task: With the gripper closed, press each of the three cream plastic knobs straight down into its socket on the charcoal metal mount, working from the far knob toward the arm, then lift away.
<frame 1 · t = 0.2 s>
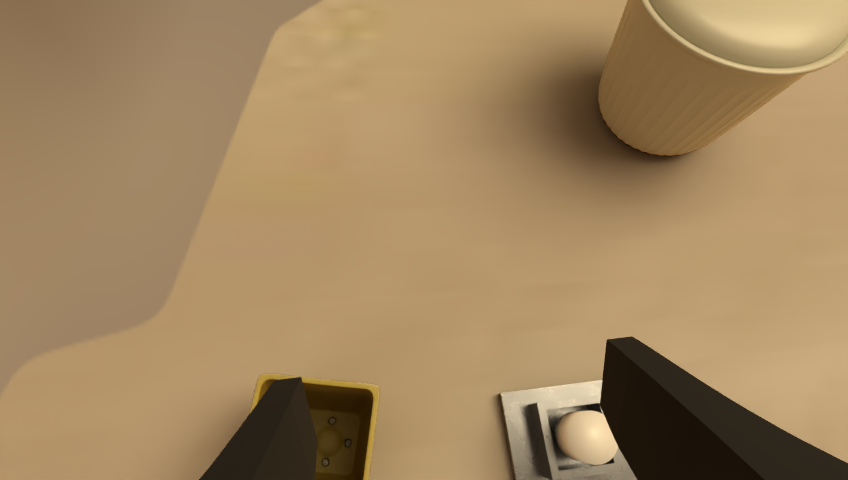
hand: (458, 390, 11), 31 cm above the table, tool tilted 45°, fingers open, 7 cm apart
canister: (649, 115, 52), on the table
flower pot: (331, 440, 39), on the table
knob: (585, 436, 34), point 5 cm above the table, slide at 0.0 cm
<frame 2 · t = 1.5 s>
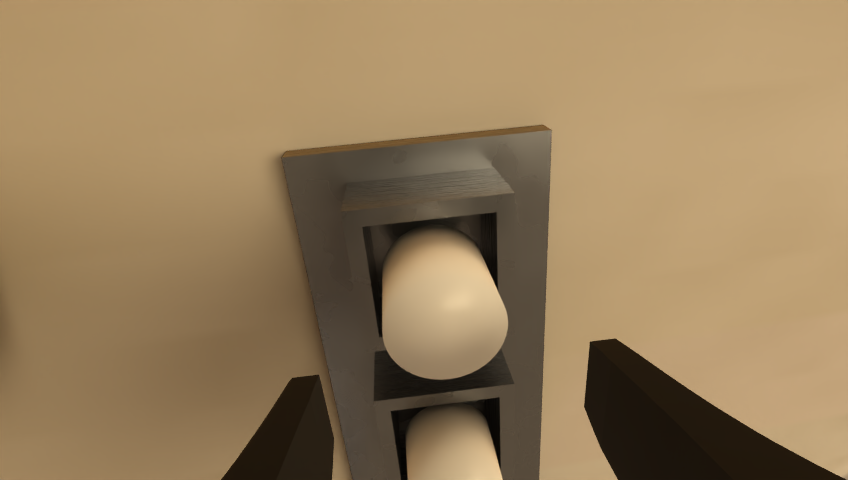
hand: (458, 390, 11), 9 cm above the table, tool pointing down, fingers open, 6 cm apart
knob middle: (452, 469, 18), point 5 cm above the table, slide at 0.0 cm
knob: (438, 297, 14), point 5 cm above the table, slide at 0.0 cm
mount: (438, 377, 23), on the table
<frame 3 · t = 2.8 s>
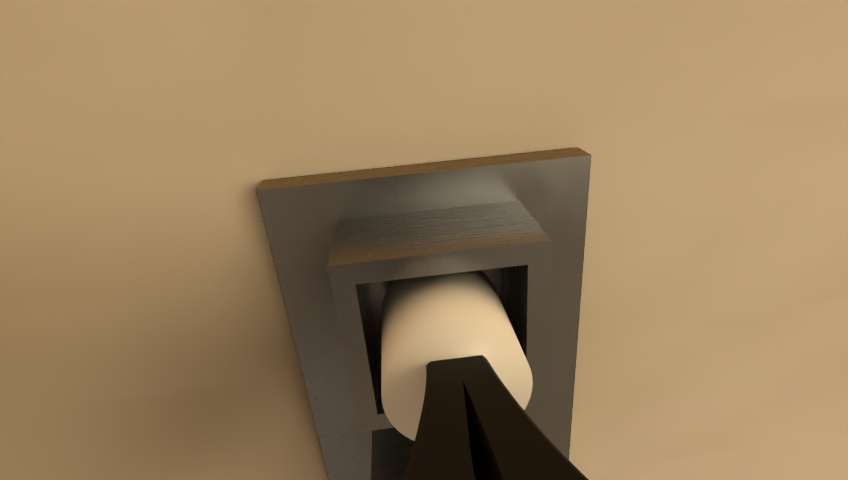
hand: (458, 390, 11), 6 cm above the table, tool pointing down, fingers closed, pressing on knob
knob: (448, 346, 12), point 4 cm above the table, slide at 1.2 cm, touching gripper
mount: (446, 436, 19), on the table
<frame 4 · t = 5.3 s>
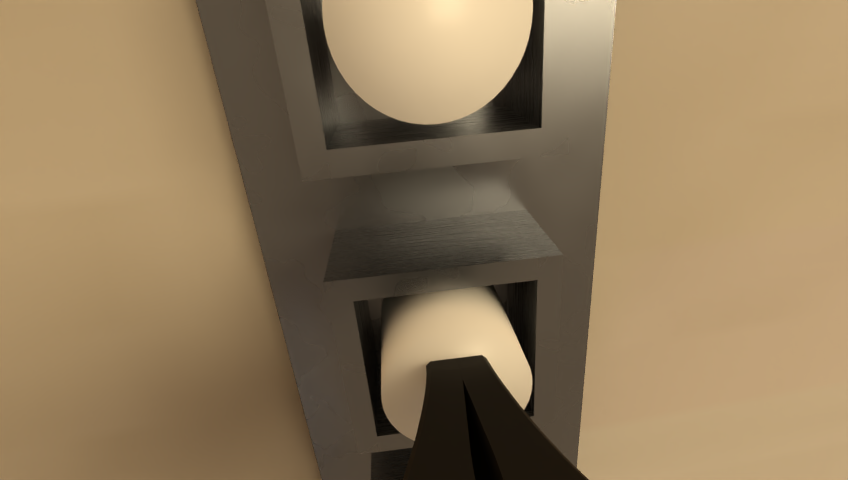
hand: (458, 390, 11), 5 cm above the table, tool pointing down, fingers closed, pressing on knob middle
knob middle: (447, 346, 12), point 3 cm above the table, slide at 2.0 cm, touching gripper
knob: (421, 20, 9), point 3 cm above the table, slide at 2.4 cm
mount: (434, 285, 15), on the table
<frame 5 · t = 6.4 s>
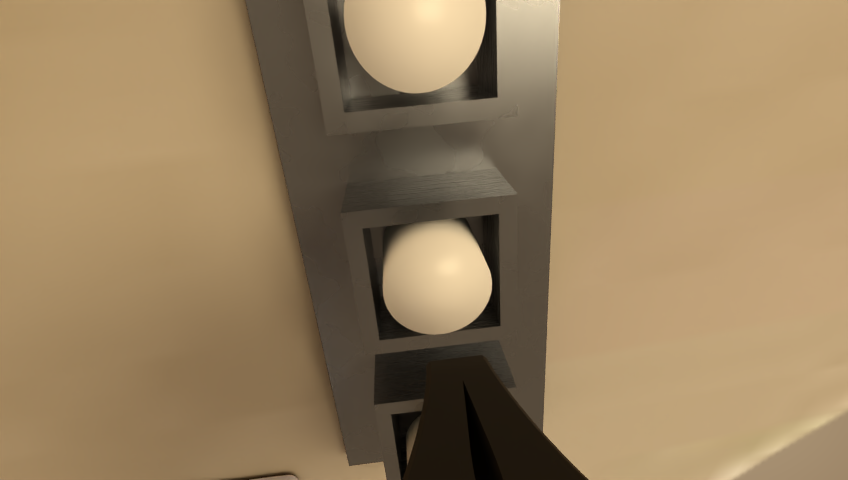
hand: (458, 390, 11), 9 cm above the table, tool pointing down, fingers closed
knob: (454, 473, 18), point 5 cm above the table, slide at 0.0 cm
knob middle: (432, 264, 16), point 3 cm above the table, slide at 2.4 cm
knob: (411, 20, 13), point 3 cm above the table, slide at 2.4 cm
mount: (425, 232, 19), on the table
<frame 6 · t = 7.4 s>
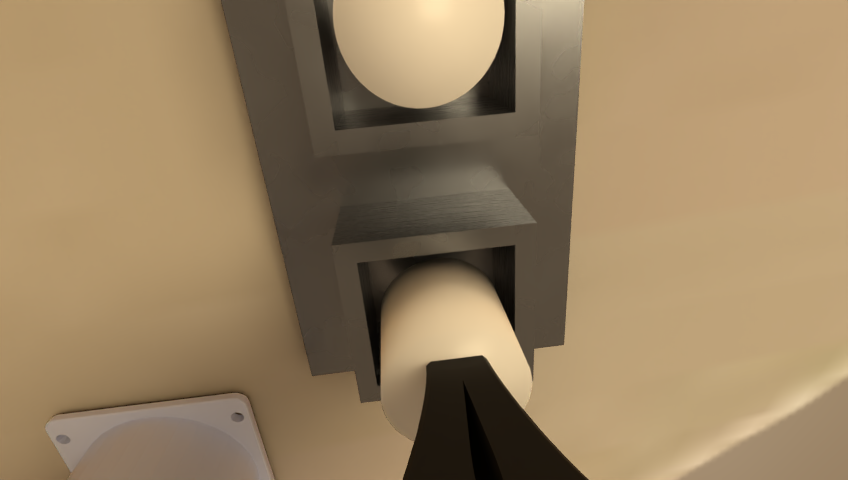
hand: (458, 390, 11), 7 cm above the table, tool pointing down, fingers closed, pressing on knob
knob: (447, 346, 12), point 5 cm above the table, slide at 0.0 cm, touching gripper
knob middle: (414, 21, 11), point 3 cm above the table, slide at 2.4 cm
mount: (408, 23, 14), on the table
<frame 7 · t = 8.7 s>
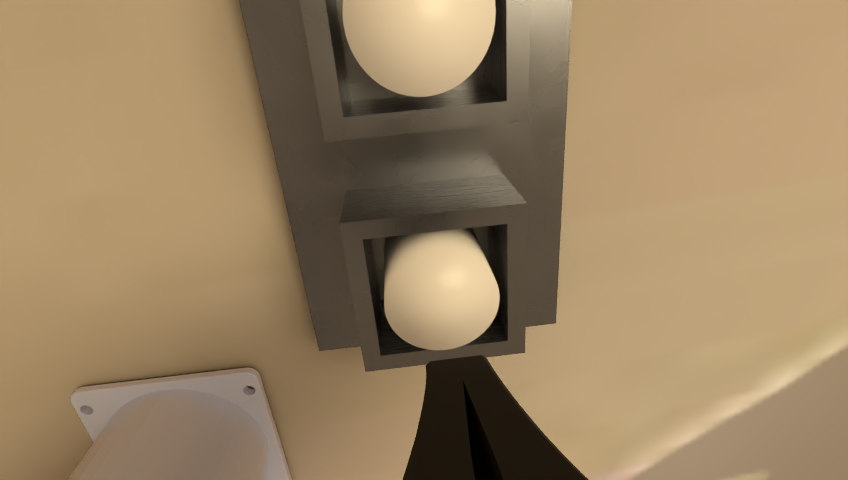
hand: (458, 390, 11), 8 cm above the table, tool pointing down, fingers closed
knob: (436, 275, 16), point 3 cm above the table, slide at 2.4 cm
knob middle: (415, 18, 12), point 3 cm above the table, slide at 2.4 cm
mount: (410, 20, 15), on the table
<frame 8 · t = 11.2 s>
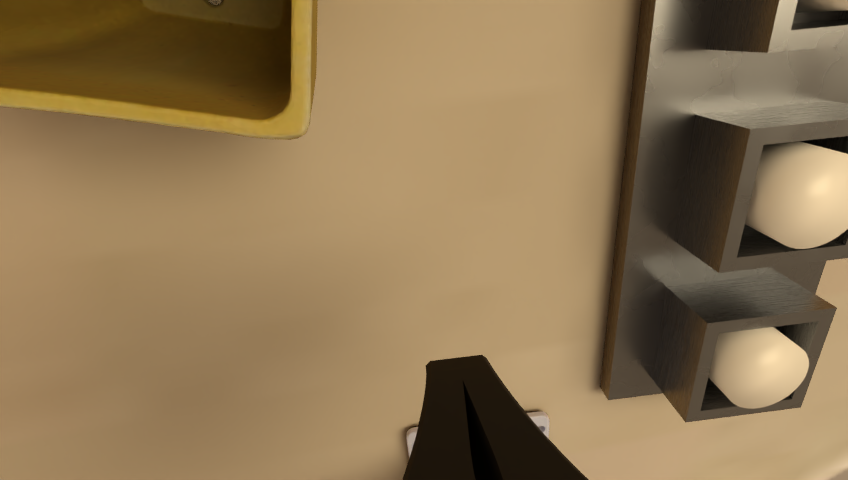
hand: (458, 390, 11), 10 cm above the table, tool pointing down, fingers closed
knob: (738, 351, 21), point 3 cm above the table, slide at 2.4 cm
knob middle: (781, 188, 18), point 3 cm above the table, slide at 2.4 cm
mount: (731, 168, 20), on the table
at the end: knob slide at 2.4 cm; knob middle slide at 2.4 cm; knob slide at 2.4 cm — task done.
